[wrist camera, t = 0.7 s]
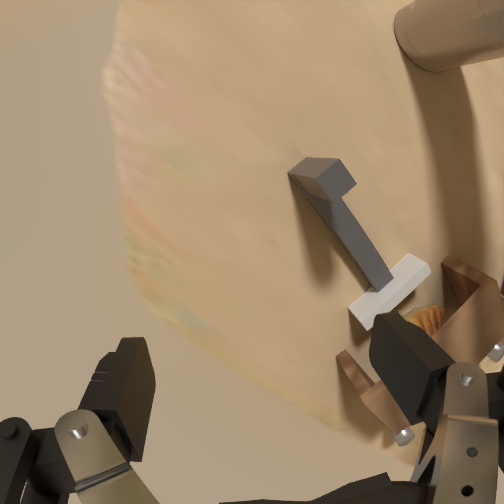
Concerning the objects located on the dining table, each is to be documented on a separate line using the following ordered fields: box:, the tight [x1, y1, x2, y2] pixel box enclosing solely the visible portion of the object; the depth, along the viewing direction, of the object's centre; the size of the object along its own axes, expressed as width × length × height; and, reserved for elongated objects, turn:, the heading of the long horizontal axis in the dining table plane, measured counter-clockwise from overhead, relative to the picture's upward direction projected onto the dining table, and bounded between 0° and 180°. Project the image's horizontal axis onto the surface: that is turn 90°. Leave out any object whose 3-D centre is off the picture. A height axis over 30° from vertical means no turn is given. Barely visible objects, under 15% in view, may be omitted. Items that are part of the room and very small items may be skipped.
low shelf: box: [336, 256, 504, 436], centre depth 34 cm, size 20×10×10 cm, turn 130°
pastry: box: [402, 304, 444, 337], centre depth 37 cm, size 9×7×4 cm
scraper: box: [288, 157, 431, 331], centre depth 29 cm, size 10×18×9 cm, turn 40°
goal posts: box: [388, 342, 504, 446], centre depth 40 cm, size 23×3×6 cm, turn 130°
